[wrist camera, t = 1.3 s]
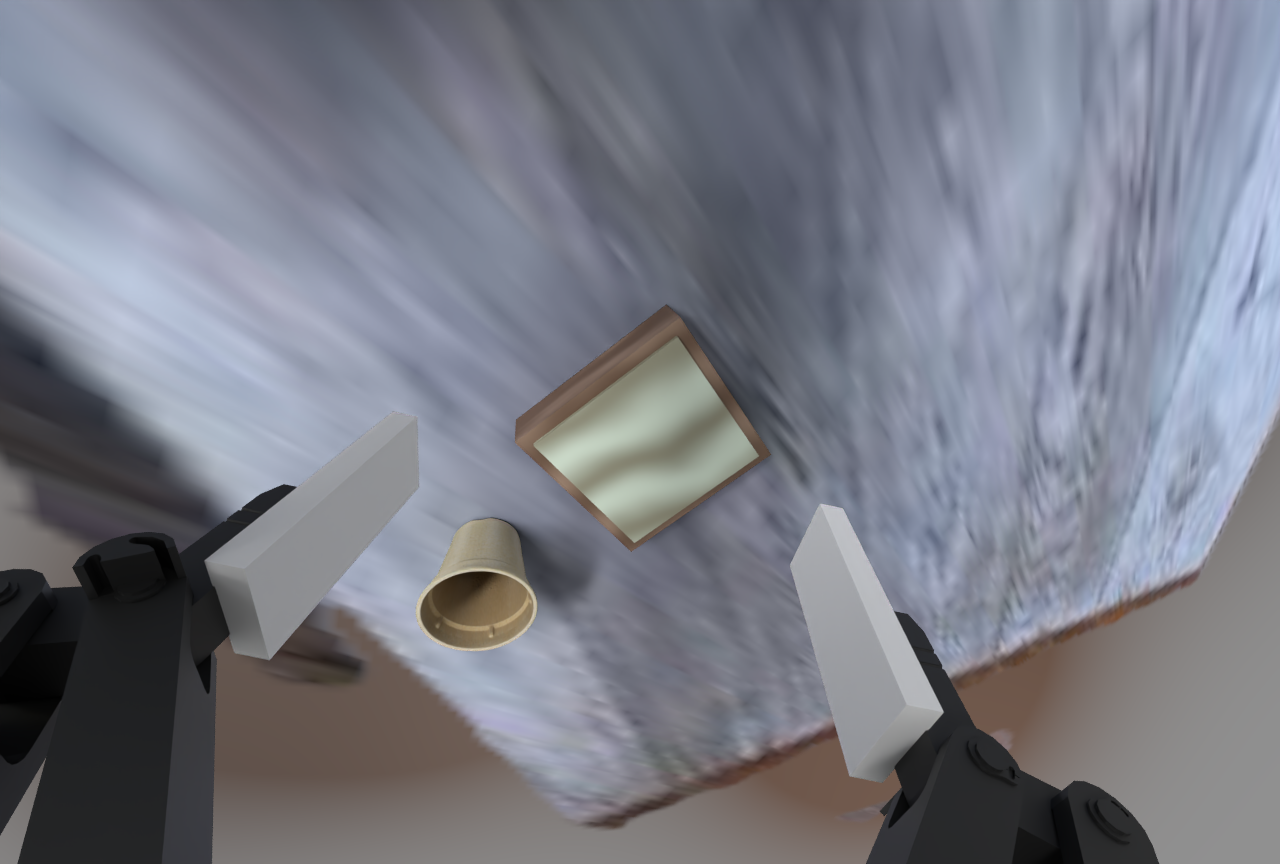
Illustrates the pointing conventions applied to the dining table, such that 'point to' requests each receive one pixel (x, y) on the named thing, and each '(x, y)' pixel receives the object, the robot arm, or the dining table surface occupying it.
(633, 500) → the brown flat square box
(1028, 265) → the dining table surface
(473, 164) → the dining table surface
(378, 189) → the dining table surface
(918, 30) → the dining table surface
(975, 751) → the robot arm
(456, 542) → the flower pot
